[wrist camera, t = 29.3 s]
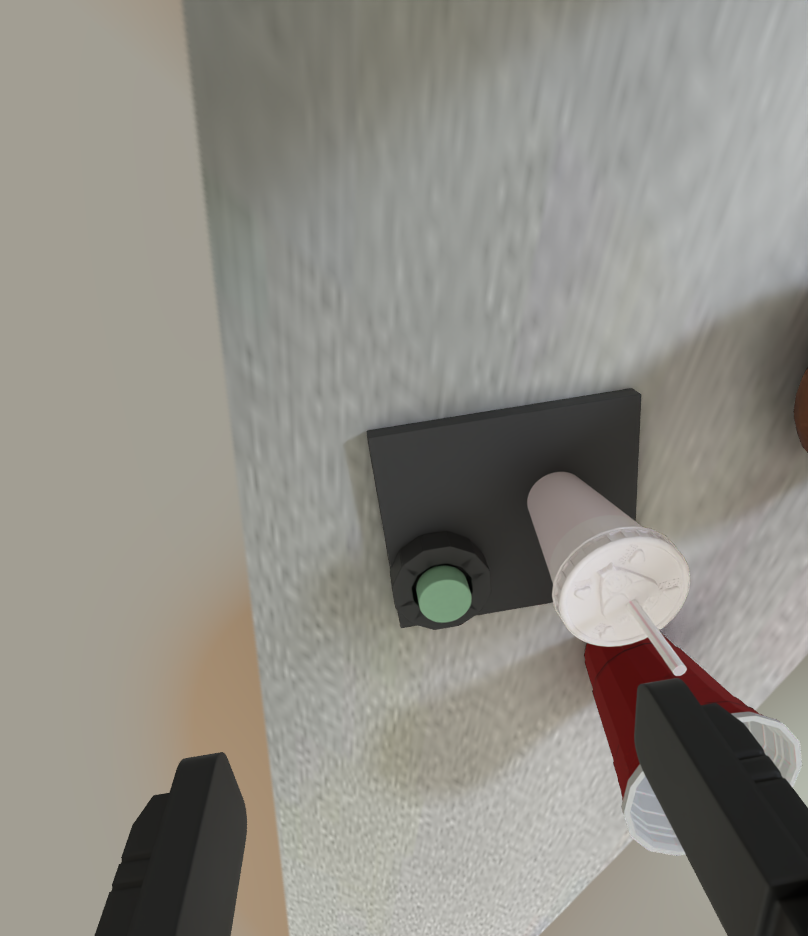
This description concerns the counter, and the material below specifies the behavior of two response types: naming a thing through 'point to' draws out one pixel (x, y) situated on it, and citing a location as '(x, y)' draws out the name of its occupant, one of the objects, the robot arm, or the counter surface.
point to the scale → (494, 493)
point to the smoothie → (607, 567)
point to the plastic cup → (616, 702)
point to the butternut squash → (802, 411)
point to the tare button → (443, 593)
